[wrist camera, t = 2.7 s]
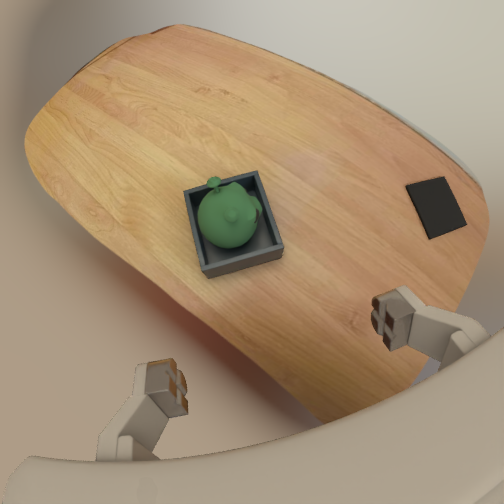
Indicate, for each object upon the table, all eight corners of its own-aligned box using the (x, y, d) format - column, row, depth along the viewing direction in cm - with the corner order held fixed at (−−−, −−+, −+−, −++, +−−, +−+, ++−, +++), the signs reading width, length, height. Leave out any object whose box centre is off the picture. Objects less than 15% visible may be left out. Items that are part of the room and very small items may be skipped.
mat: (465, 225, 38) (467, 224, 38) (428, 239, 38) (430, 238, 37) (442, 177, 41) (444, 176, 40) (405, 186, 40) (406, 185, 40)
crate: (281, 257, 38) (284, 247, 33) (208, 279, 37) (201, 271, 33) (257, 187, 41) (257, 170, 36) (190, 205, 40) (183, 191, 36)
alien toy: (272, 238, 38) (276, 204, 28) (219, 266, 37) (205, 241, 28) (247, 195, 40) (243, 153, 30) (196, 221, 39) (177, 185, 29)
